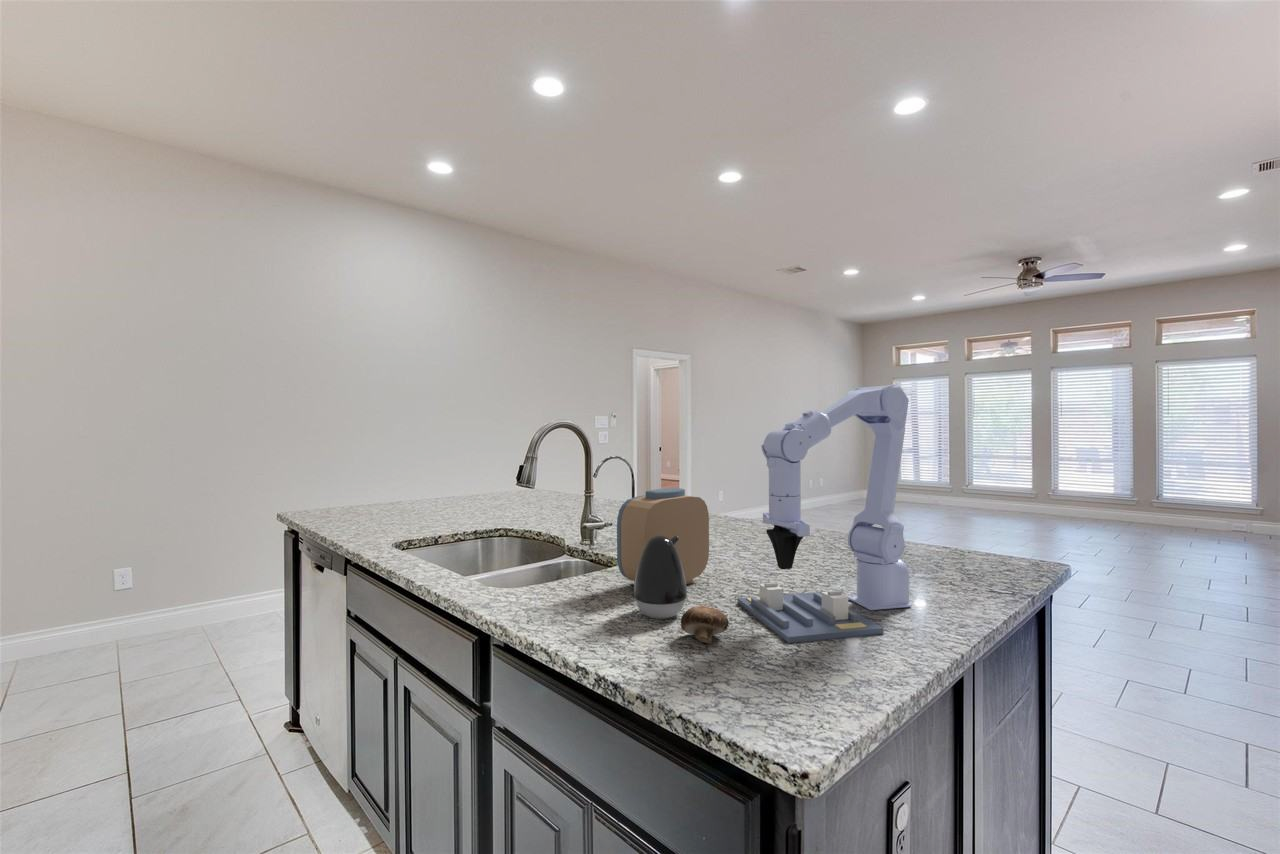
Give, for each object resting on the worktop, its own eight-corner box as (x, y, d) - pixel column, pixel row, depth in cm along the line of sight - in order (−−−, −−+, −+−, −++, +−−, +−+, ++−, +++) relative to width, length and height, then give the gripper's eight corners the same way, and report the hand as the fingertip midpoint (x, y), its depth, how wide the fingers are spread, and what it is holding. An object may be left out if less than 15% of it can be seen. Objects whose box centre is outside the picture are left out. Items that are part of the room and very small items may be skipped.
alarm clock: (679, 572, 142) (679, 484, 142) (709, 579, 135) (708, 487, 135) (615, 588, 128) (615, 491, 128) (645, 598, 121) (644, 495, 121)
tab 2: (836, 612, 108) (836, 587, 108) (848, 619, 104) (848, 593, 104) (821, 613, 108) (821, 588, 108) (833, 620, 104) (833, 595, 104)
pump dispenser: (698, 613, 111) (698, 535, 111) (663, 627, 104) (662, 543, 104) (658, 602, 118) (658, 528, 118) (622, 615, 111) (622, 536, 111)
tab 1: (773, 603, 114) (773, 580, 114) (783, 609, 110) (783, 585, 110) (759, 604, 113) (759, 581, 113) (768, 610, 109) (768, 586, 109)
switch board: (817, 596, 122) (817, 586, 122) (883, 633, 100) (883, 621, 100) (737, 603, 118) (737, 592, 118) (788, 643, 96) (788, 629, 96)
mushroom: (713, 634, 91) (709, 596, 95) (672, 644, 95) (670, 607, 99) (739, 646, 96) (734, 609, 100) (699, 655, 100) (696, 619, 104)
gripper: (748, 491, 113) (748, 560, 113) (783, 500, 98) (783, 580, 99) (781, 489, 114) (781, 558, 114) (820, 499, 100) (820, 577, 100)
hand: (785, 568), depth 107 cm, fingers closed
